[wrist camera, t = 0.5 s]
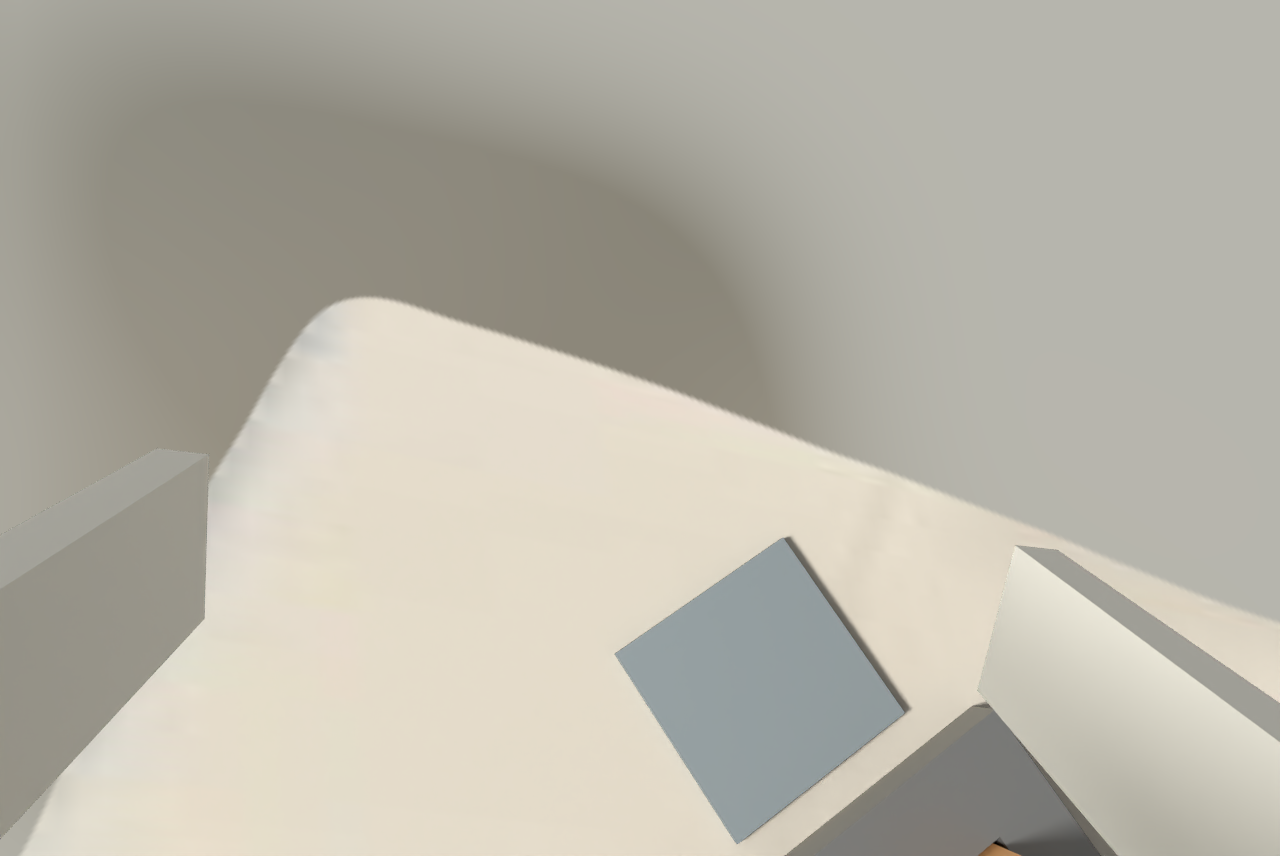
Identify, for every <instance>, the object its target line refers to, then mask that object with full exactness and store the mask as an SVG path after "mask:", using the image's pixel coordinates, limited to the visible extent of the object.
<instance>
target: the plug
mask: <svg viewBox="0 0 1280 856" xmlns="http://www.w3.org/2000/svg"><path fill="white" fill-rule="evenodd" d="M978 856H1021V855H1019V854H1016V853H1014V852H1012V851H1009V850H1007V849H1005V848H1003V847H1000V846H998V845H996V844H993V843H992V844H991V845H990V846H989V847H987V848H986V849H985V850H984V851H983V852H982V853H980V854H979V855H978Z"/></svg>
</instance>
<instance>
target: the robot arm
mask: <svg viewBox="0 0 1280 856" xmlns="http://www.w3.org/2000/svg"><path fill="white" fill-rule="evenodd" d="M208 470H209V454H200V453H191V452H183V451H174V450H165V449H155V450H153V451H151V452H149V453H148V454H146V455H144V456H142V457H140V458H139V459H137V460H135V461H133V462H131V463H129V464H128V465H126V466H124V467H122V468H120V469H119V470H117V471H115V472H113V473H111V474H109V475H108V476H106V477H104V478H102V479H100V480H99V481H97V482H95V483H93V484H91V485H90V486H88V487H86V488H84V489H82V490H80V491H79V492H77V493H75V494H73V495H71V496H70V497H68V498H66V499H64V500H62V501H61V502H59V503H57V504H55V505H53V506H51V507H50V508H48V509H46V510H44V511H42V512H41V513H39V514H37V515H35V516H33V517H32V518H30V519H28V520H26V521H24V522H22V523H21V524H19V525H17V526H15V527H13V528H12V529H10V530H8V531H6V532H4V533H3V534H1V535H0V839H1V838H2V837H3V836H4V835H5V833H7V832H8V830H9V829H10V828H11V827H12V826H13V825H14V824H15V823H16V822H17V821H18V819H19V818H20V817H21V816H22V815H23V814H24V813H25V812H26V811H27V810H28V809H29V808H30V807H31V806H32V804H33V803H34V802H35V801H36V800H37V799H38V798H39V797H40V796H41V795H42V794H43V793H44V792H45V790H46V789H47V788H48V787H49V786H50V785H51V784H52V783H53V782H54V781H55V780H56V779H57V777H58V776H59V775H60V774H61V773H62V772H63V771H64V770H65V769H66V768H67V767H68V766H69V764H70V763H71V762H72V761H73V760H74V759H75V758H76V757H77V756H78V755H79V754H80V753H81V752H82V750H83V749H84V748H85V747H86V746H87V745H88V744H89V743H90V742H91V741H92V740H93V739H94V737H95V736H96V735H97V734H98V733H99V732H100V731H101V730H102V729H103V728H104V727H105V726H106V724H107V723H108V722H109V721H110V720H111V719H112V718H113V717H114V716H115V715H116V714H117V713H118V712H119V710H120V709H121V708H122V707H123V706H124V705H125V704H126V703H127V702H128V701H129V700H130V699H131V697H132V696H133V695H134V694H135V693H136V692H137V691H138V690H139V689H140V688H141V687H142V686H143V684H144V683H145V682H146V681H147V680H148V679H149V678H150V677H151V676H152V675H153V674H154V673H155V672H156V670H157V669H158V668H159V667H160V666H161V665H162V664H163V663H164V662H165V661H166V660H167V659H168V657H169V656H170V655H171V654H172V653H173V652H174V651H175V650H176V649H177V648H178V647H179V646H180V644H181V643H182V642H183V641H184V640H185V639H186V638H187V637H188V636H189V635H190V634H191V633H192V632H193V630H194V629H195V628H196V627H197V626H198V625H199V624H200V623H201V622H202V621H203V620H204V615H205V579H206V543H207V507H208ZM977 691H978V692H979V693H980V694H981V695H982V697H983V698H984V699H985V700H986V701H987V703H988V704H989V705H990V706H991V707H992V708H993V710H994V711H995V712H996V713H997V714H998V715H999V717H1000V718H1001V719H1002V720H1003V721H1004V723H1005V724H1006V725H1007V726H1008V727H1009V728H1010V730H1011V731H1012V732H1013V733H1014V734H1015V735H1016V737H1017V738H1018V739H1019V740H1020V741H1021V743H1022V744H1023V745H1024V746H1025V747H1026V748H1027V750H1028V751H1029V752H1030V753H1031V754H1032V755H1033V757H1034V758H1035V759H1036V760H1037V761H1038V763H1039V764H1040V765H1041V766H1042V767H1043V768H1044V770H1045V771H1046V772H1047V773H1048V774H1049V775H1050V777H1051V778H1052V779H1053V780H1054V781H1055V783H1056V784H1057V785H1058V786H1059V787H1060V788H1061V790H1062V791H1063V792H1064V793H1065V794H1066V795H1067V797H1068V798H1069V799H1070V800H1071V801H1072V803H1073V804H1074V805H1075V806H1076V807H1077V808H1078V810H1079V811H1080V812H1081V813H1082V814H1083V815H1084V817H1085V818H1086V819H1087V820H1088V821H1089V823H1090V824H1091V825H1092V826H1093V827H1094V828H1095V830H1096V831H1097V832H1098V833H1099V834H1100V835H1101V837H1102V838H1103V839H1104V840H1105V841H1106V842H1107V844H1108V845H1109V846H1110V847H1111V848H1112V850H1113V851H1114V852H1115V853H1116V854H1117V855H1118V856H1280V703H1279V702H1277V701H1276V700H1274V699H1273V698H1271V697H1270V696H1269V695H1267V694H1266V693H1264V692H1263V691H1261V690H1260V689H1258V688H1257V687H1255V686H1254V685H1253V684H1251V683H1250V682H1248V681H1247V680H1245V679H1244V678H1242V677H1241V676H1240V675H1238V674H1237V673H1235V672H1234V671H1232V670H1231V669H1229V668H1228V667H1226V666H1225V665H1224V664H1222V663H1221V662H1219V661H1218V660H1216V659H1215V658H1213V657H1212V656H1211V655H1209V654H1208V653H1206V652H1205V651H1203V650H1202V649H1200V648H1199V647H1197V646H1196V645H1195V644H1193V643H1192V642H1190V641H1189V640H1187V639H1186V638H1184V637H1183V636H1181V635H1180V634H1179V633H1177V632H1176V631H1174V630H1173V629H1171V628H1170V627H1168V626H1167V625H1166V624H1164V623H1163V622H1161V621H1160V620H1158V619H1157V618H1155V617H1154V616H1152V615H1151V614H1150V613H1148V612H1147V611H1145V610H1144V609H1142V608H1141V607H1139V606H1138V605H1137V604H1135V603H1134V602H1132V601H1131V600H1129V599H1128V598H1126V597H1125V596H1123V595H1122V594H1121V593H1119V592H1118V591H1116V590H1115V589H1113V588H1112V587H1110V586H1109V585H1107V584H1106V583H1105V582H1103V581H1102V580H1100V579H1099V578H1097V577H1096V576H1094V575H1093V574H1092V573H1090V572H1089V571H1087V570H1086V569H1084V568H1083V567H1081V566H1080V565H1078V564H1077V563H1076V562H1074V561H1073V560H1071V559H1070V558H1068V557H1067V556H1065V555H1064V554H1063V553H1061V552H1060V551H1058V550H1053V549H1044V548H1035V547H1026V546H1017V545H1015V548H1014V552H1013V556H1012V559H1011V563H1010V567H1009V571H1008V575H1007V579H1006V582H1005V586H1004V590H1003V594H1002V598H1001V602H1000V606H999V609H998V613H997V617H996V621H995V625H994V629H993V633H992V636H991V640H990V644H989V648H988V652H987V656H986V659H985V663H984V667H983V671H982V675H981V679H980V683H979V686H978V690H977Z"/></svg>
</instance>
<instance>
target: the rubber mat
mask: <svg viewBox="0 0 1280 856" xmlns="http://www.w3.org/2000/svg"><path fill="white" fill-rule="evenodd" d="M615 655H616V657H617V659H618V660H619V662H620V663H621V665H622V666H623V668H624V669H625V671H626V673H627V674H628V676H629V677H630V679H631V680H632V682H633V683H634V685H635V687H636V688H637V690H638V691H639V693H640V694H641V696H642V698H643V699H644V701H645V702H646V704H647V705H648V707H649V708H650V710H651V712H652V713H653V715H654V716H655V718H656V719H657V721H658V723H659V724H660V726H661V727H662V729H663V730H664V732H665V733H666V735H667V737H668V738H669V740H670V741H671V743H672V744H673V746H674V748H675V749H676V751H677V752H678V754H679V755H680V757H681V758H682V760H683V762H684V763H685V765H686V766H687V768H688V769H689V771H690V772H691V774H692V776H693V777H694V779H695V780H696V782H697V783H698V785H699V787H700V788H701V790H702V791H703V793H704V794H705V796H706V797H707V799H708V801H709V802H710V804H711V805H712V807H713V808H714V810H715V812H716V813H717V815H718V816H719V818H720V819H721V821H722V822H723V824H724V826H725V827H726V829H727V830H728V832H729V833H730V835H731V837H732V838H733V840H734V841H735V842H736V843H737V844H738V843H740V842H741V841H742V840H743V839H745V838H746V837H747V836H749V835H750V834H751V833H752V832H754V831H755V830H756V829H758V828H759V827H760V826H761V825H763V824H764V823H765V822H766V821H768V820H769V819H770V818H772V817H773V816H774V815H775V814H777V813H778V812H779V811H781V810H782V809H783V808H784V807H786V806H787V805H788V804H789V803H791V802H792V801H793V800H795V799H796V798H797V797H798V796H800V795H801V794H802V793H803V792H805V791H806V790H807V789H809V788H810V787H811V786H812V785H814V784H815V783H816V782H818V781H819V780H820V779H821V778H823V777H824V776H825V775H826V774H828V773H829V772H830V771H832V770H833V769H834V768H835V767H837V766H838V765H839V764H841V763H842V762H843V761H844V760H846V759H847V758H848V757H849V756H851V755H852V754H853V753H855V752H856V751H857V750H858V749H860V748H861V747H862V746H863V745H865V744H866V743H867V742H869V741H870V740H871V739H872V738H874V737H875V736H876V735H878V734H879V733H880V732H881V731H883V730H884V729H885V728H886V727H888V726H889V725H890V724H892V723H893V722H894V721H895V720H897V719H898V718H899V717H901V716H902V715H903V714H904V713H905V712H904V711H903V709H902V708H901V706H900V705H899V704H898V702H897V701H896V699H895V698H894V696H893V695H892V694H891V692H890V691H889V689H888V688H887V686H886V685H885V683H884V682H883V681H882V679H881V678H880V676H879V675H878V673H877V672H876V670H875V669H874V668H873V666H872V665H871V663H870V662H869V660H868V659H867V658H866V656H865V655H864V653H863V652H862V650H861V649H860V647H859V646H858V645H857V643H856V642H855V640H854V639H853V637H852V636H851V635H850V633H849V632H848V630H847V629H846V627H845V626H844V624H843V623H842V622H841V620H840V619H839V617H838V616H837V614H836V613H835V611H834V610H833V609H832V607H831V606H830V604H829V603H828V601H827V600H826V599H825V597H824V596H823V594H822V593H821V591H820V590H819V588H818V587H817V586H816V584H815V583H814V581H813V580H812V578H811V577H810V575H809V574H808V573H807V571H806V570H805V568H804V567H803V565H802V564H801V563H800V561H799V560H798V558H797V557H796V555H795V554H794V552H793V551H792V550H791V548H790V547H789V545H788V544H787V542H786V541H785V539H784V538H781V539H780V540H778V541H777V542H775V543H774V544H772V545H771V546H770V547H768V548H767V549H765V550H764V551H762V552H761V553H759V554H758V555H757V556H755V557H754V558H752V559H751V560H749V561H748V562H746V563H745V564H744V565H742V566H741V567H739V568H738V569H736V570H735V571H734V572H732V573H731V574H729V575H728V576H726V577H725V578H723V579H722V580H721V581H719V582H718V583H716V584H715V585H713V586H712V587H710V588H709V589H708V590H706V591H705V592H703V593H702V594H700V595H699V596H697V597H696V598H695V599H693V600H692V601H690V602H689V603H687V604H686V605H684V606H683V607H682V608H680V609H679V610H677V611H676V612H674V613H673V614H671V615H670V616H669V617H667V618H666V619H664V620H663V621H661V622H660V623H658V624H657V625H656V626H654V627H653V628H651V629H650V630H648V631H647V632H645V633H644V634H643V635H641V636H640V637H638V638H637V639H635V640H634V641H632V642H631V643H630V644H628V645H627V646H625V647H624V648H622V649H621V650H620V651H618V652H617V653H615Z"/></svg>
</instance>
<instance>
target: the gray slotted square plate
mask: <svg viewBox="0 0 1280 856" xmlns="http://www.w3.org/2000/svg"><path fill="white" fill-rule="evenodd" d="M992 843H993V844H996V845H998V846H1000V847H1003V848H1005V849H1007V850H1009V851H1012V852H1014V853H1016V854H1019V855H1021V856H1100V854H1099V853H1098V851H1097V850H1096V849H1095V847H1094V846H1093V844H1092V843H1091V842H1090V840H1089V839H1088V837H1087V836H1086V835H1085V833H1084V832H1083V830H1082V829H1081V828H1080V826H1079V825H1078V823H1077V822H1076V821H1075V819H1074V818H1073V816H1072V815H1071V814H1070V812H1069V811H1068V809H1067V808H1066V807H1065V805H1064V804H1063V802H1062V801H1061V800H1060V798H1059V797H1058V795H1057V794H1056V793H1055V791H1054V790H1053V788H1052V787H1051V786H1050V784H1049V783H1048V781H1047V780H1046V779H1045V777H1044V776H1043V774H1042V773H1041V772H1040V770H1039V769H1038V767H1037V766H1036V765H1035V763H1034V762H1033V760H1032V759H1031V758H1030V756H1029V755H1028V753H1027V752H1026V751H1025V749H1024V748H1023V746H1022V745H1021V744H1020V742H1019V741H1018V739H1017V738H1016V737H1015V735H1014V734H1013V732H1012V731H1011V730H1010V728H1009V727H1008V726H1007V725H1006V724H1005V723H1004V721H1003V720H1002V719H1001V718H1000V717H999V715H998V714H997V713H996V712H995V711H994V710H993V709H992V708H984V707H976V706H972V707H970V708H969V709H968V710H967V711H965V712H964V713H963V714H962V715H960V716H959V717H958V718H957V719H955V720H954V721H953V722H952V723H950V724H949V725H948V726H947V727H945V728H944V729H943V730H942V731H940V732H939V733H938V734H937V735H935V736H934V737H933V738H932V739H930V740H929V741H928V742H927V743H925V744H924V745H923V746H922V747H920V748H919V749H918V750H917V751H915V752H914V753H913V754H912V755H910V756H909V757H908V758H907V759H905V760H904V761H903V762H902V763H900V764H899V765H898V766H897V767H895V768H894V769H893V770H892V771H890V772H889V773H888V774H887V775H885V776H884V777H883V778H882V779H880V780H879V781H878V782H877V783H875V784H874V785H873V786H872V787H870V788H869V789H868V790H867V791H865V792H864V793H863V794H862V795H860V796H859V797H858V798H857V799H855V800H854V801H853V802H852V803H850V804H849V805H848V806H847V807H845V808H844V809H843V810H842V811H840V812H839V813H838V814H837V815H835V816H834V817H833V818H832V819H830V820H829V821H828V822H827V823H825V824H824V825H823V826H822V827H820V828H819V829H818V830H817V831H815V832H814V833H813V834H812V835H810V836H809V837H808V838H807V839H805V840H804V841H803V842H802V843H800V844H799V845H798V846H797V847H795V848H794V849H793V850H792V851H790V852H789V853H788V854H787V855H785V856H978V855H979V854H980V853H982V852H983V851H984V850H985V849H986V848H987V847H989V846H990V845H991V844H992Z"/></svg>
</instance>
